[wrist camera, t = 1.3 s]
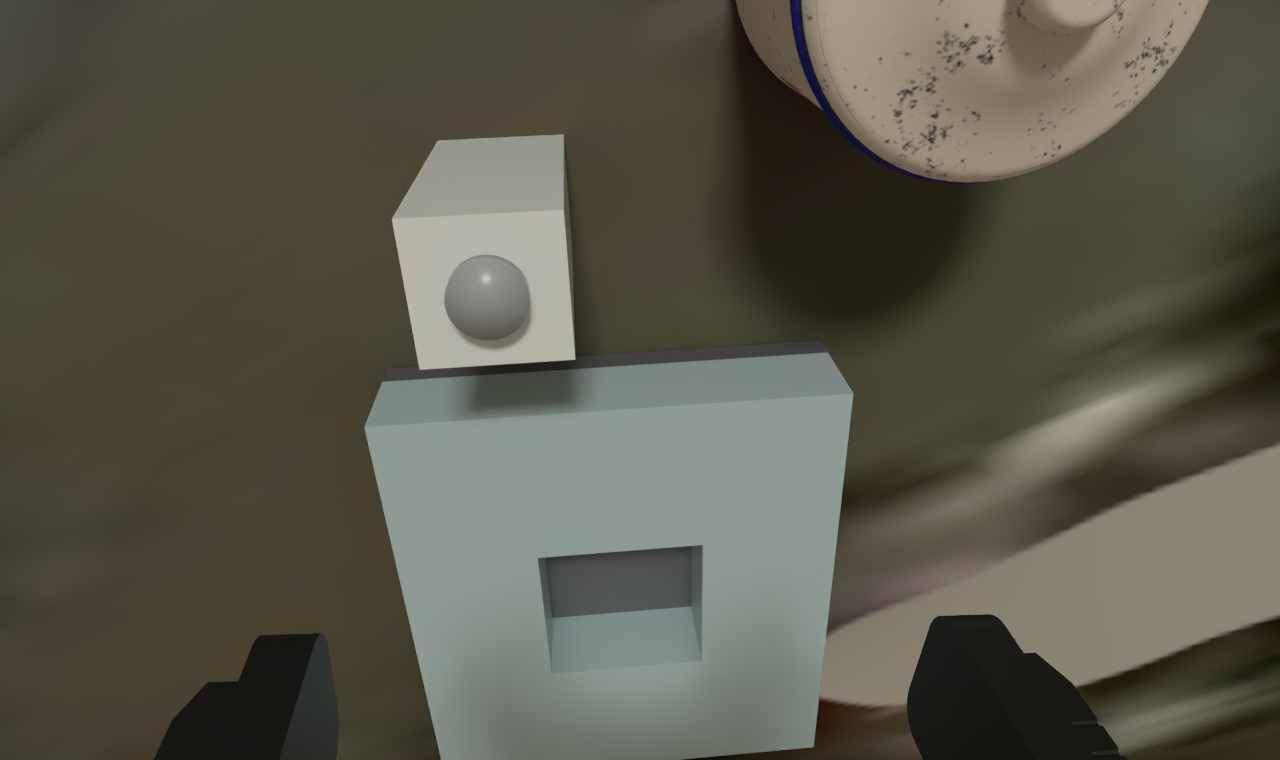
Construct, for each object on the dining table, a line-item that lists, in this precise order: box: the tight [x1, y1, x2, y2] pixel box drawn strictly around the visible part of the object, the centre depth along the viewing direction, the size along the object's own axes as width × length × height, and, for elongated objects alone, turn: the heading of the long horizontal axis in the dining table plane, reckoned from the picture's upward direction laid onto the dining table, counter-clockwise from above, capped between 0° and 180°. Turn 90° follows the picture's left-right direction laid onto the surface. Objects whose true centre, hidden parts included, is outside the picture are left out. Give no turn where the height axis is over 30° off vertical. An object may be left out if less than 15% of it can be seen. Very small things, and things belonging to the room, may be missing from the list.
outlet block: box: [364, 340, 853, 760], centre depth 33 cm, size 16×18×4 cm
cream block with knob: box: [392, 135, 575, 370], centre depth 23 cm, size 4×4×9 cm
